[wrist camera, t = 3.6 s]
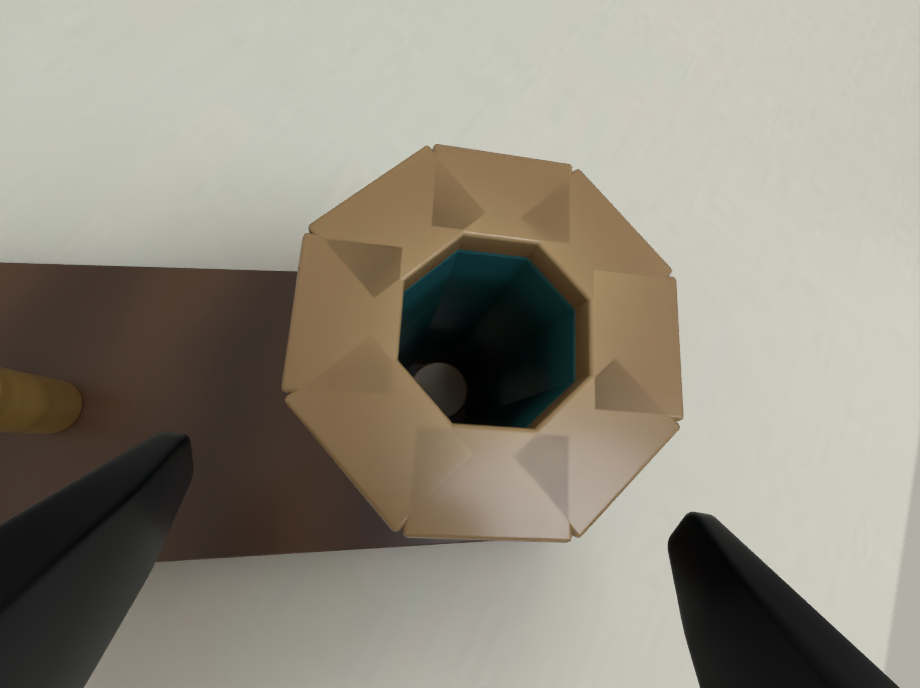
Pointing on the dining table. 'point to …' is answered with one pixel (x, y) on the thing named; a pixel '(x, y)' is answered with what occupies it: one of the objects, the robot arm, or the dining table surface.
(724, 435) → the dining table surface
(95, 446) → the spool stand
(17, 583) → the robot arm
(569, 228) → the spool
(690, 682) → the dining table surface
